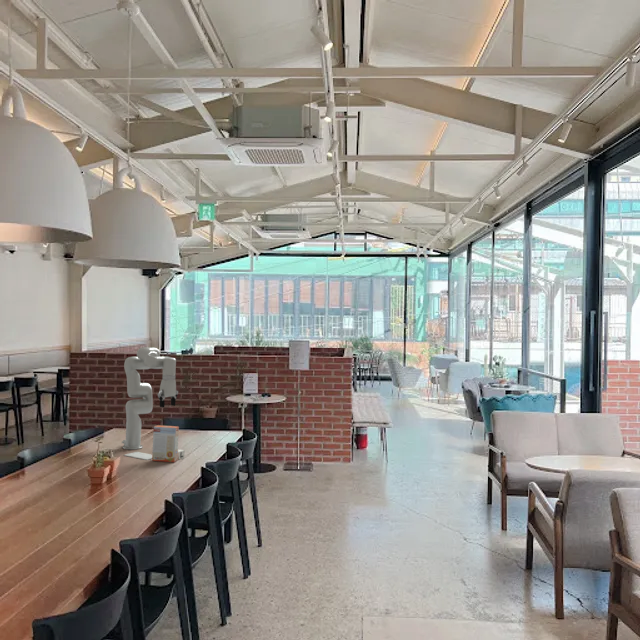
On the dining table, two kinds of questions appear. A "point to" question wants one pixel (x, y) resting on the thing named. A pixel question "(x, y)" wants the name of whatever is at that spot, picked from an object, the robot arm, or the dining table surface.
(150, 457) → the white mat
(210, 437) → the dining table surface
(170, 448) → the cracker box
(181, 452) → the off-white cubic block
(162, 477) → the dining table surface
